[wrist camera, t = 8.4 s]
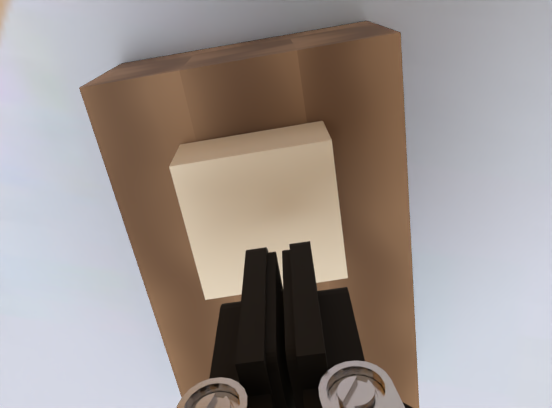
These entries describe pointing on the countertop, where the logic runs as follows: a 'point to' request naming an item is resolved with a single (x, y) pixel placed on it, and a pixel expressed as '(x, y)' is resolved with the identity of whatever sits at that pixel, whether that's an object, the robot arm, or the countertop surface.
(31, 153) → the countertop surface
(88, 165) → the countertop surface
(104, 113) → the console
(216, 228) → the cream block
